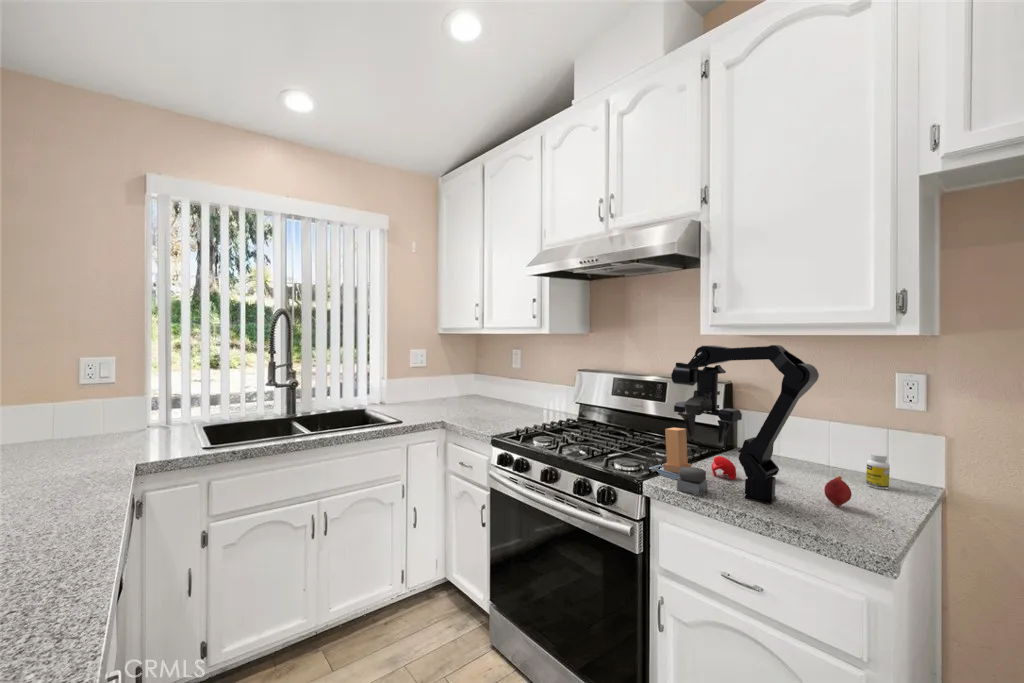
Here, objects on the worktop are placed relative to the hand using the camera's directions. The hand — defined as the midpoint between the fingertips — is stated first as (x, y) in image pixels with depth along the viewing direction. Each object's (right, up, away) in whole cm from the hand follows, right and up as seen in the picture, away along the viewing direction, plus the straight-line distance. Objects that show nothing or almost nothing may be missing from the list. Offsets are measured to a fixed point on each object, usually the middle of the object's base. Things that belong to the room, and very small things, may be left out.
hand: (705, 439), depth 139 cm
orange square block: (-5, -11, +8) cm, 15 cm away
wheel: (-6, -12, -6) cm, 15 cm away
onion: (+28, -14, -16) cm, 35 cm away
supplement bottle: (+51, -14, 0) cm, 53 cm away
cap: (+9, -13, +7) cm, 17 cm away
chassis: (-6, -13, +9) cm, 17 cm away
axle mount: (-6, -13, -6) cm, 16 cm away
